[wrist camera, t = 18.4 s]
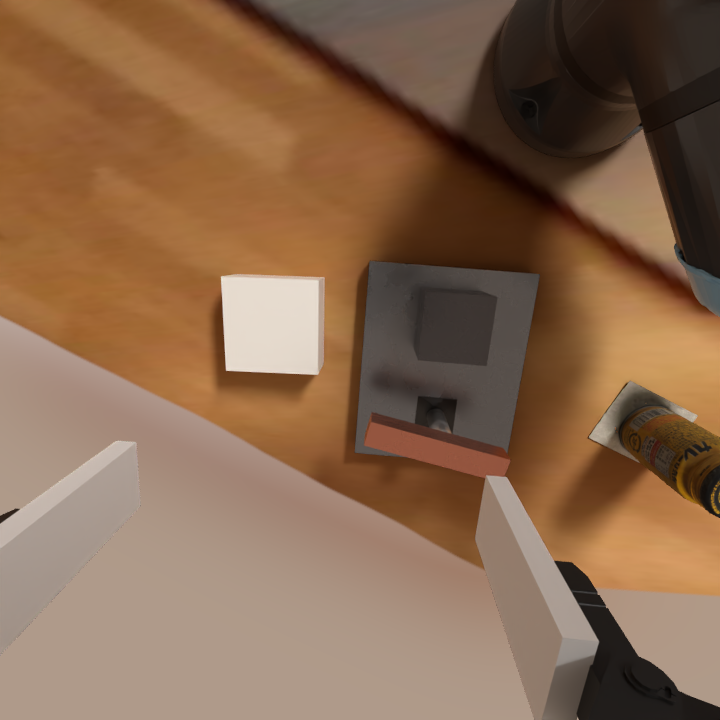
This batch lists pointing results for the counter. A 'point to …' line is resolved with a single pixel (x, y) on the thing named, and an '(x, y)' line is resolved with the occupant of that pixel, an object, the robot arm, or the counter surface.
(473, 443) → the t key
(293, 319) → the cover
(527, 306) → the latch plate
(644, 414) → the condiment
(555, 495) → the counter surface
